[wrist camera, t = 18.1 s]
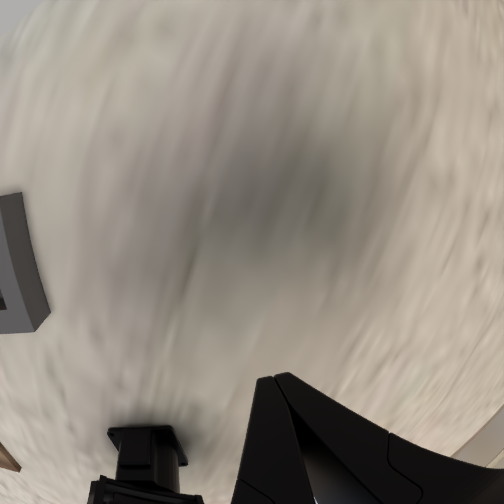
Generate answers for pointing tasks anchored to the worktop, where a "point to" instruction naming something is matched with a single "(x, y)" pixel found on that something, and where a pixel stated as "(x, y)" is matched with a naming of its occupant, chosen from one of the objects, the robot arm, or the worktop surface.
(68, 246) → the worktop surface
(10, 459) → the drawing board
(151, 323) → the worktop surface
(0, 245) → the button housing
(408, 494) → the robot arm
